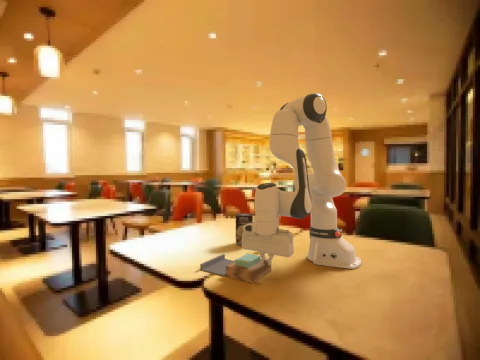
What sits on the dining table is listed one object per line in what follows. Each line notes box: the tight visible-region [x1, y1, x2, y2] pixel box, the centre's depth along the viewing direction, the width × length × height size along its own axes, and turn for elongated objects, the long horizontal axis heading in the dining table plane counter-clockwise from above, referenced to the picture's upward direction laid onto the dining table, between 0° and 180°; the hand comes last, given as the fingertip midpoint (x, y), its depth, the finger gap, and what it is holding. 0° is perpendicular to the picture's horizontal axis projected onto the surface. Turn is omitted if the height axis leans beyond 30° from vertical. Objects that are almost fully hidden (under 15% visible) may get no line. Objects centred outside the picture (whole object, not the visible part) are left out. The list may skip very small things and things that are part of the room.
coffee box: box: [235, 212, 254, 247], centre depth 146 cm, size 9×6×16 cm
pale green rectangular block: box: [234, 253, 261, 268], centre depth 107 cm, size 6×9×2 cm, turn 146°
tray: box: [199, 253, 235, 277], centre depth 114 cm, size 12×15×2 cm
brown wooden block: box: [226, 258, 272, 284], centre depth 107 cm, size 12×14×4 cm
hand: (266, 264), depth 102 cm, fingers closed
